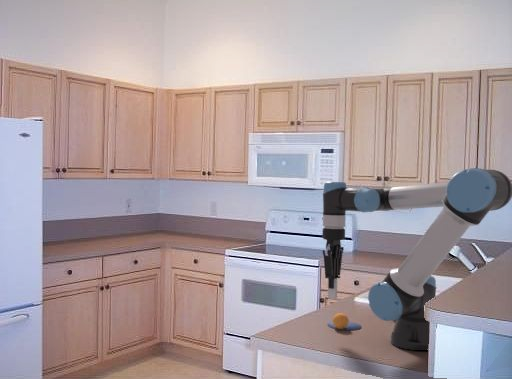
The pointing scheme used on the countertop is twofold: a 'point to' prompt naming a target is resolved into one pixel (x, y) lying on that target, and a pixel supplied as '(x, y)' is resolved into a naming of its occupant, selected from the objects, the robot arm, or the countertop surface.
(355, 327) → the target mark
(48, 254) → the countertop surface
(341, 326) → the ball
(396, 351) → the countertop surface
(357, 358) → the countertop surface
